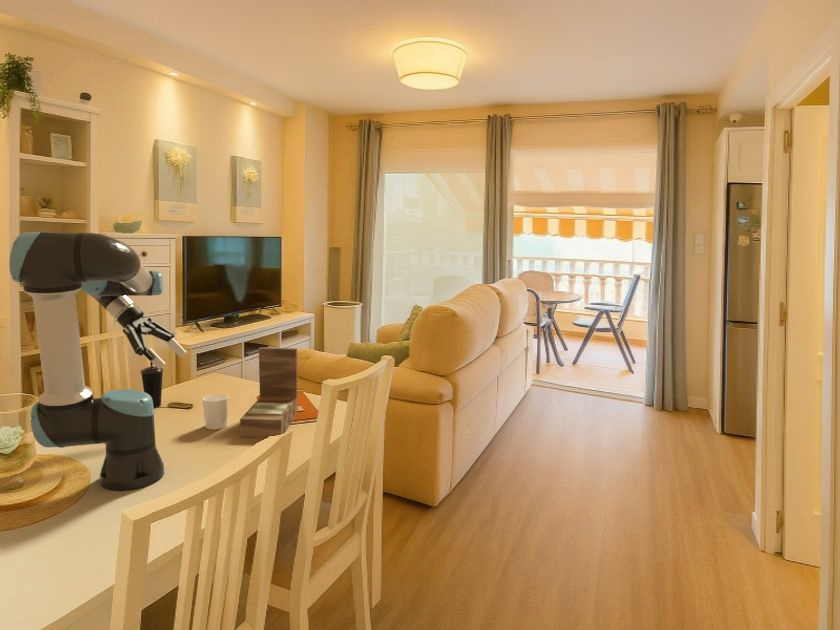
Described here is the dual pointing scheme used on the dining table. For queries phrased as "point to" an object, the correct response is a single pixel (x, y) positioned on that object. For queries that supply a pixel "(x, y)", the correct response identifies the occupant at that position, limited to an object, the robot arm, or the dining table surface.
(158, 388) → the drinking cup
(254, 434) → the walnut shelf
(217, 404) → the white cup
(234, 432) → the dining table surface
